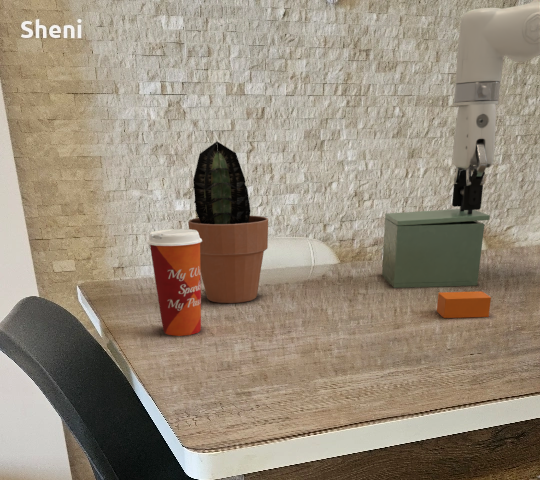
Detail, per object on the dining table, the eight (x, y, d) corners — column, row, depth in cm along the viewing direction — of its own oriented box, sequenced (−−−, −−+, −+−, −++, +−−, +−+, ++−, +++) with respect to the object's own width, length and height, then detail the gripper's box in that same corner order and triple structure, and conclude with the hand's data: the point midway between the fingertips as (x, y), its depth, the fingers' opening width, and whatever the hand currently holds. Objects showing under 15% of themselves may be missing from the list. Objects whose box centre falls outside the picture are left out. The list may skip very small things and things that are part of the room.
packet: (479, 310, 107) (482, 291, 105) (488, 317, 103) (491, 297, 101) (436, 311, 107) (438, 292, 105) (443, 318, 103) (445, 298, 101)
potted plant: (284, 300, 116) (282, 139, 105) (213, 310, 111) (203, 142, 99) (248, 287, 127) (243, 140, 115) (181, 295, 121) (169, 142, 110)
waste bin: (458, 273, 135) (464, 216, 130) (477, 285, 123) (484, 223, 118) (381, 275, 134) (384, 218, 129) (393, 287, 123) (397, 226, 118)
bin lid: (469, 212, 129) (471, 184, 127) (489, 220, 118) (492, 188, 116) (385, 218, 129) (385, 189, 127) (397, 225, 118) (398, 194, 116)
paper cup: (180, 340, 95) (171, 237, 88) (145, 332, 99) (135, 233, 93) (219, 329, 100) (213, 230, 93) (184, 321, 104) (176, 227, 98)
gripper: (515, 92, 107) (501, 211, 115) (482, 97, 122) (472, 203, 131) (469, 94, 107) (458, 213, 115) (442, 99, 122) (434, 204, 131)
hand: (465, 206), depth 123 cm, fingers closed on bin lid, 6 cm apart
